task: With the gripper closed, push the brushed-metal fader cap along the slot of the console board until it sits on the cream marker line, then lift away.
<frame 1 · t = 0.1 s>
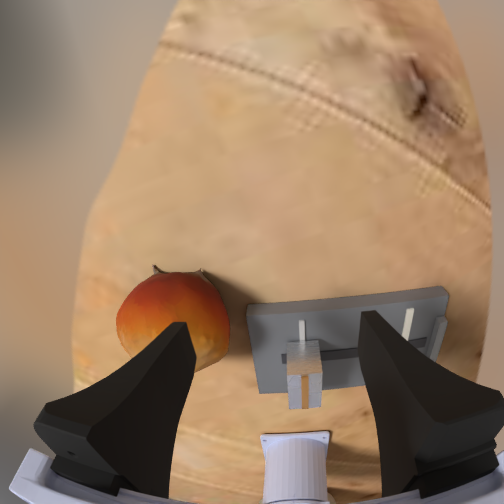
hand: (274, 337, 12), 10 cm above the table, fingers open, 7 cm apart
fruit: (185, 299, 24), on the table
console board: (348, 340, 24), on the table
canister: (297, 495, 41), on the table
fader cap: (304, 376, 22), point 4 cm above the table, slide at 0.0 cm
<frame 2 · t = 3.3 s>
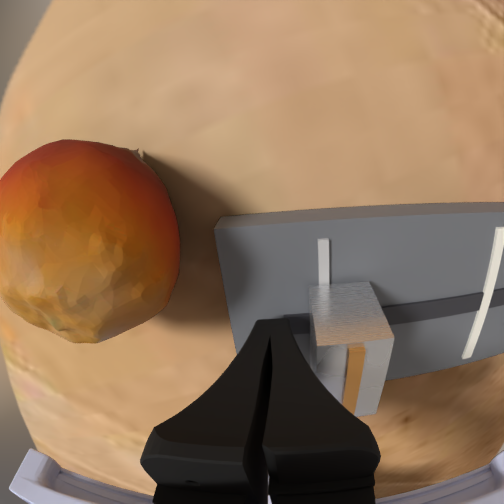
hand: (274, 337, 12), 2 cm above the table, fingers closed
fruit: (118, 216, 13), on the table
console board: (399, 294, 14), on the table
fader cap: (344, 353, 11), point 4 cm above the table, slide at 0.6 cm, touching gripper
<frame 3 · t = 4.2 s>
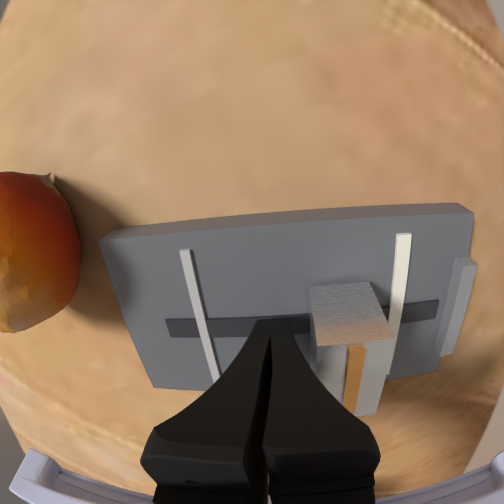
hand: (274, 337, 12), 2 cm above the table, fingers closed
fruit: (44, 228, 14), on the table
console board: (293, 304, 14), on the table
fader cap: (344, 353, 11), point 4 cm above the table, slide at 5.9 cm, touching gripper
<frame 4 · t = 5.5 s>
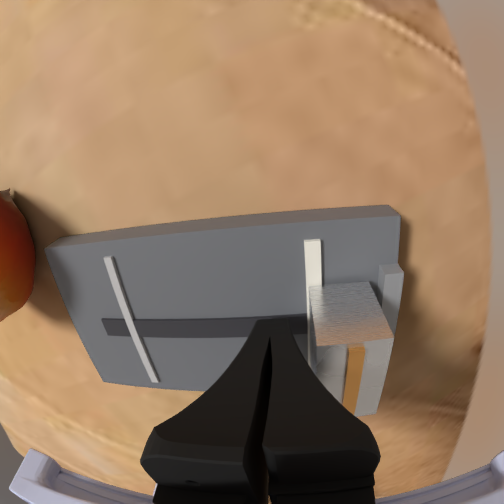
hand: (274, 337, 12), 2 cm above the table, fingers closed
fruit: (9, 236, 15), on the table
console board: (217, 308, 15), on the table
fader cap: (344, 353, 11), point 4 cm above the table, slide at 9.5 cm, touching gripper
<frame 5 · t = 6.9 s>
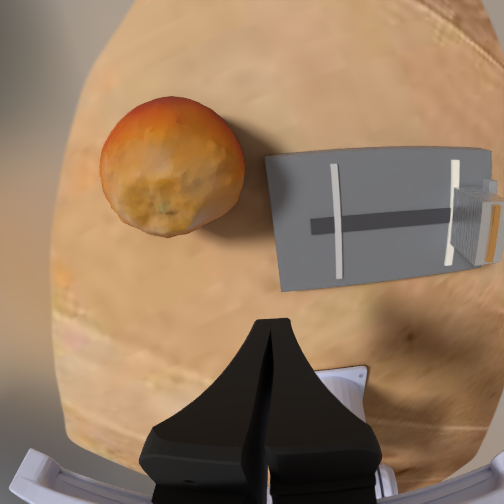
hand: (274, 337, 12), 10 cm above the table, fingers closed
fruit: (189, 159, 19), on the table
console board: (389, 212, 19), on the table
fader cap: (479, 224, 15), point 4 cm above the table, slide at 9.5 cm
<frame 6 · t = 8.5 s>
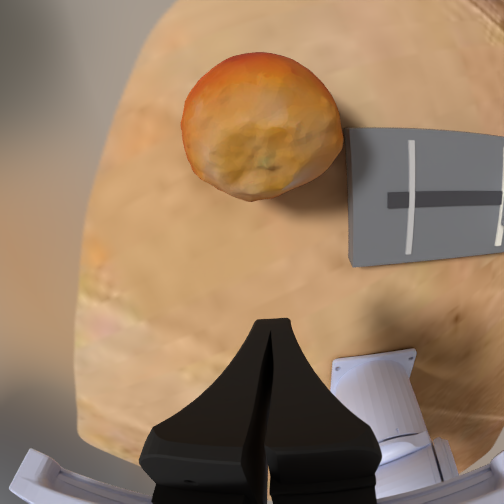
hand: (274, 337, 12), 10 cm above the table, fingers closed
fruit: (264, 125, 18), on the table
console board: (449, 192, 18), on the table
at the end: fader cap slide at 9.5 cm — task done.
